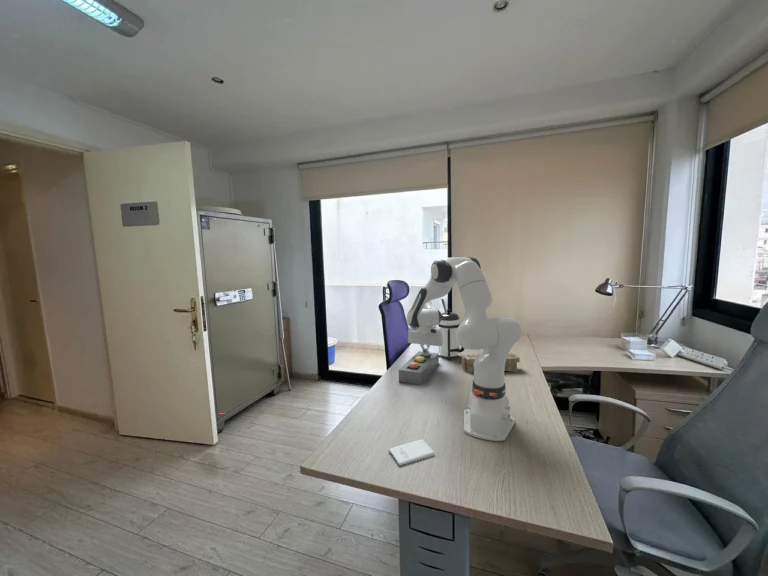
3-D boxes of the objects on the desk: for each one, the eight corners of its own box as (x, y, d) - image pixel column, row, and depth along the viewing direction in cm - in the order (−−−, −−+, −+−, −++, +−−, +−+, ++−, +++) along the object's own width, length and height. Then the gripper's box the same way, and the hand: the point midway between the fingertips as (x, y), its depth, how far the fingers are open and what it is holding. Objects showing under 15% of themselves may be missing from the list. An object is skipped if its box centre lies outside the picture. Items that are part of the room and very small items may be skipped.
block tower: (464, 374, 166) (520, 372, 165) (464, 359, 166) (520, 356, 164) (461, 369, 174) (515, 366, 172) (461, 354, 173) (514, 352, 171)
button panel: (421, 384, 153) (421, 372, 152) (398, 381, 158) (398, 369, 157) (438, 363, 181) (438, 353, 181) (419, 361, 186) (419, 351, 186)
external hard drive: (434, 456, 99) (399, 468, 94) (421, 442, 106) (388, 452, 102) (434, 452, 99) (399, 463, 94) (421, 438, 106) (388, 447, 101)
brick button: (416, 369, 157) (416, 365, 156) (407, 368, 159) (407, 364, 159) (419, 366, 161) (419, 362, 161) (410, 365, 163) (410, 361, 163)
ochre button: (422, 362, 166) (422, 359, 165) (414, 361, 168) (414, 358, 168) (425, 360, 170) (425, 356, 170) (417, 359, 172) (417, 355, 172)
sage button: (428, 357, 175) (428, 353, 174) (420, 356, 177) (420, 352, 176) (430, 354, 179) (430, 351, 179) (422, 353, 181) (422, 350, 181)
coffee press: (435, 360, 187) (434, 311, 184) (438, 352, 202) (438, 306, 199) (464, 362, 182) (464, 311, 179) (466, 353, 197) (465, 307, 194)
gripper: (405, 328, 178) (406, 351, 179) (440, 330, 169) (441, 355, 171) (409, 325, 183) (410, 348, 185) (443, 328, 175) (444, 352, 176)
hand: (425, 351), depth 178 cm, fingers closed
